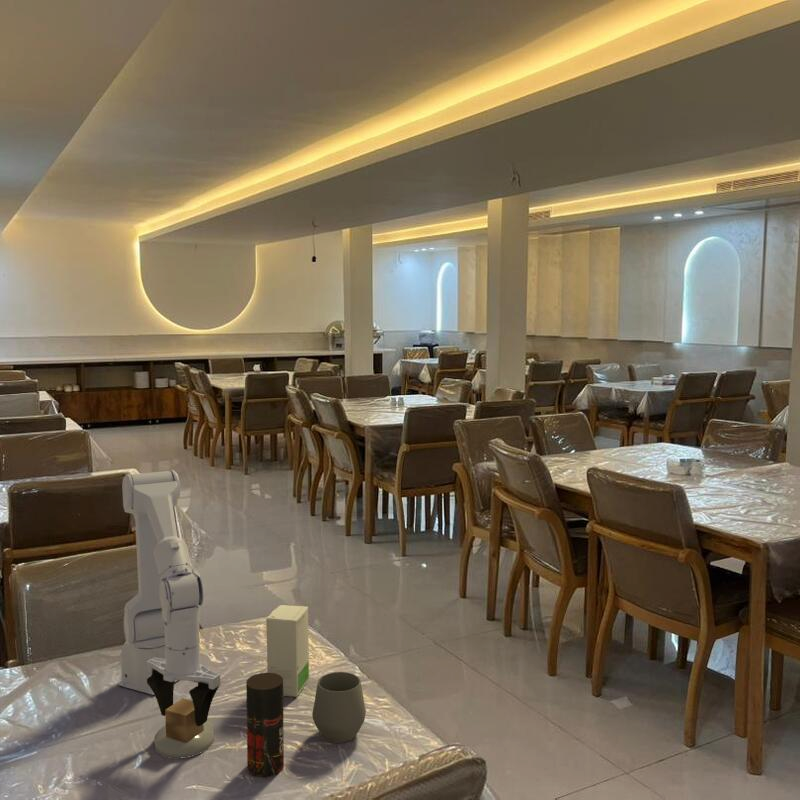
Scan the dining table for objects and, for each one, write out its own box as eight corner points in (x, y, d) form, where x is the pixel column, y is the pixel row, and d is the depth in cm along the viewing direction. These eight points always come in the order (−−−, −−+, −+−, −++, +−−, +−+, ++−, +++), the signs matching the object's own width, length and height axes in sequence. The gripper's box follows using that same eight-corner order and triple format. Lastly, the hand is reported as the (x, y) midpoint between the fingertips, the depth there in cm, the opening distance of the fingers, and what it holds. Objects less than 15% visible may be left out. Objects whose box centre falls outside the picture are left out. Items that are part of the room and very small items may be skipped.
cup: (324, 754, 134) (324, 699, 132) (304, 728, 142) (304, 676, 141) (374, 741, 138) (374, 687, 137) (352, 716, 146) (352, 665, 145)
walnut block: (166, 737, 136) (165, 709, 135) (183, 724, 140) (182, 698, 139) (186, 743, 134) (185, 715, 134) (203, 730, 138) (203, 703, 138)
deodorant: (249, 757, 133) (248, 673, 131) (284, 756, 133) (284, 672, 131) (245, 778, 127) (244, 690, 125) (282, 777, 127) (281, 689, 125)
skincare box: (296, 698, 153) (296, 621, 151) (264, 694, 154) (264, 618, 152) (310, 678, 161) (310, 605, 159) (279, 675, 162) (279, 602, 160)
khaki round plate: (142, 753, 134) (141, 742, 134) (178, 725, 144) (178, 714, 143) (191, 766, 131) (190, 755, 130) (225, 736, 140) (225, 725, 140)
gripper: (133, 644, 134) (135, 719, 136) (200, 661, 128) (202, 739, 130) (162, 629, 141) (163, 700, 142) (227, 644, 135) (228, 719, 136)
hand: (184, 718), depth 137 cm, fingers open, 7 cm apart
